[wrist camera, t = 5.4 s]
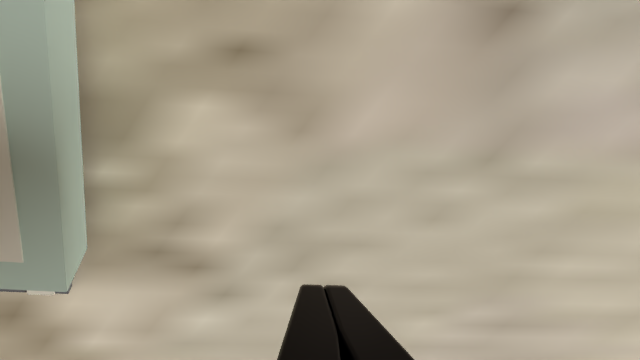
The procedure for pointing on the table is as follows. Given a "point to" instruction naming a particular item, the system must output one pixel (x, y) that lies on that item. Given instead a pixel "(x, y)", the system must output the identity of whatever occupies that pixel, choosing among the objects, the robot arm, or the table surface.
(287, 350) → the robot arm
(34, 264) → the tile
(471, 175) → the table surface
